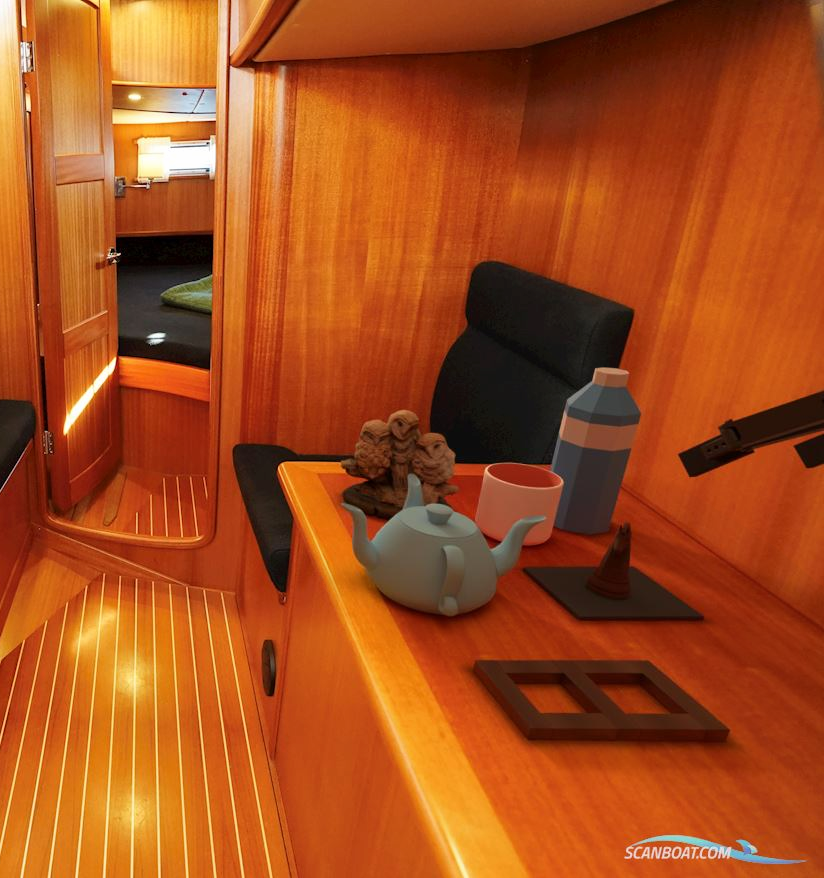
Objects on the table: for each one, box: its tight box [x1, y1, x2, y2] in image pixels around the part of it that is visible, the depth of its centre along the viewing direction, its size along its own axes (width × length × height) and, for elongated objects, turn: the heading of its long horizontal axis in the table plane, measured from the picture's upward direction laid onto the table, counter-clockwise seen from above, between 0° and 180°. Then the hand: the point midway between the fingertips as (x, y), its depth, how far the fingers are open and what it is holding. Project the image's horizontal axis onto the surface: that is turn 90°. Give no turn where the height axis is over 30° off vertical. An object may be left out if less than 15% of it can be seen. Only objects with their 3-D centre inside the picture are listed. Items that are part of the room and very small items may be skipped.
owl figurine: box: [340, 409, 459, 521], centre depth 117 cm, size 18×12×17 cm, turn 68°
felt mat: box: [522, 566, 705, 621], centre depth 93 cm, size 15×12×1 cm
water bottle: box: [549, 367, 642, 536], centre depth 108 cm, size 9×9×25 cm
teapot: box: [340, 474, 546, 617], centre depth 94 cm, size 17×19×12 cm
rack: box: [472, 659, 731, 742], centre depth 74 cm, size 19×11×2 cm, turn 87°
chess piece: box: [586, 521, 632, 600], centre depth 92 cm, size 5×5×10 cm
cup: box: [474, 462, 564, 547], centre depth 108 cm, size 10×10×10 cm
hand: (744, 461), depth 75 cm, fingers open, 13 cm apart
